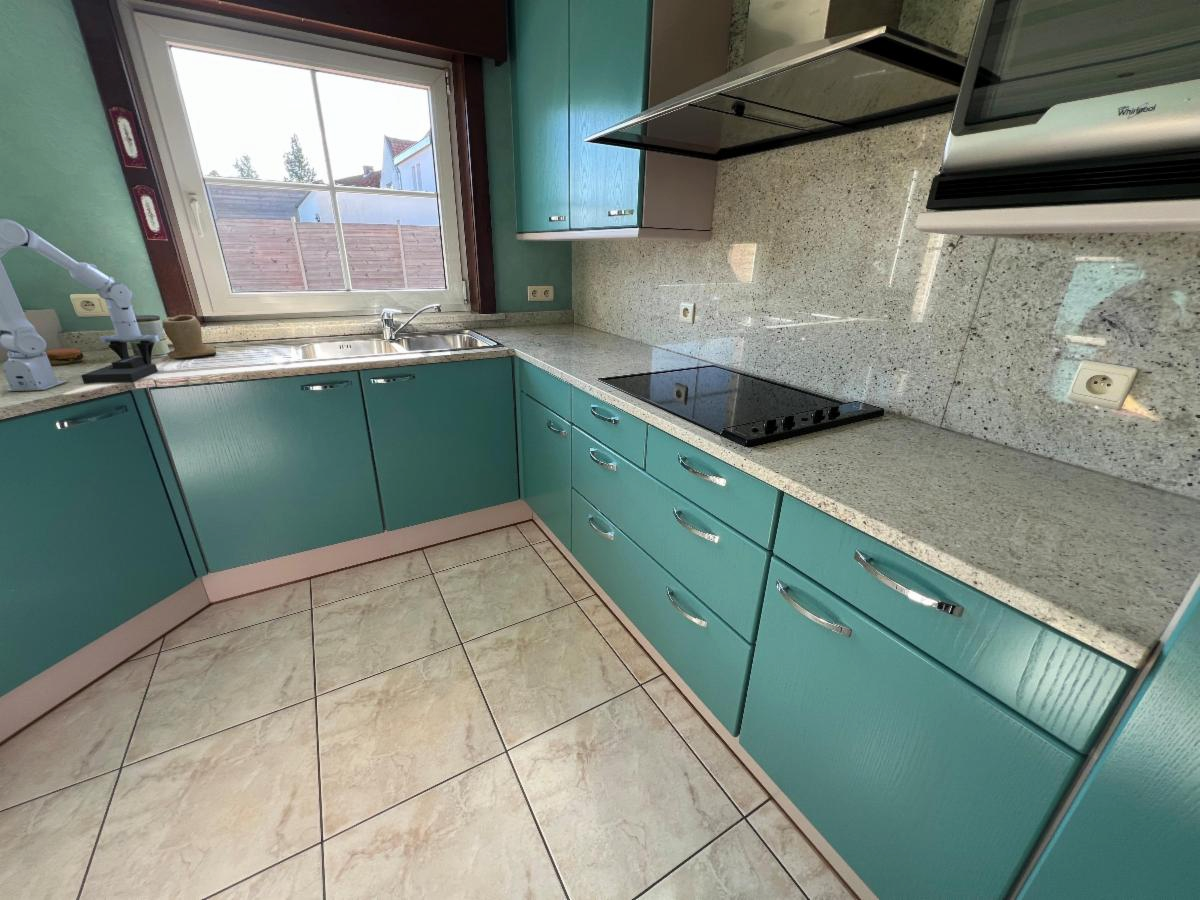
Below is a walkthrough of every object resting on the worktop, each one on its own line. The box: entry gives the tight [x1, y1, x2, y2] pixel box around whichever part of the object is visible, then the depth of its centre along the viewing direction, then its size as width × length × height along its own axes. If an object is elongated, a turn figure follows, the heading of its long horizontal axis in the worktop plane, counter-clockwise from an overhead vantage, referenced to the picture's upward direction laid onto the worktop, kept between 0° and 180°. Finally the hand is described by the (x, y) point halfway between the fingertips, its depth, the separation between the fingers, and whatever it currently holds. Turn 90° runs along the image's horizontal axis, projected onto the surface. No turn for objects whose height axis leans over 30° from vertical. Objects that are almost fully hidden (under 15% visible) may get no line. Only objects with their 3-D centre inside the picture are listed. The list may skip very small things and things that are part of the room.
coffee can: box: [129, 314, 171, 359], centre depth 178 cm, size 10×10×14 cm
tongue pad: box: [111, 355, 145, 369], centre depth 157 cm, size 10×5×4 cm, turn 16°
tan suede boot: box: [161, 314, 217, 359], centre depth 179 cm, size 15×12×15 cm
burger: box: [45, 347, 86, 366], centre depth 167 cm, size 10×9×5 cm
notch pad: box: [80, 363, 159, 384], centre depth 151 cm, size 14×12×2 cm
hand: (138, 364), depth 160 cm, fingers closed on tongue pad, 5 cm apart
